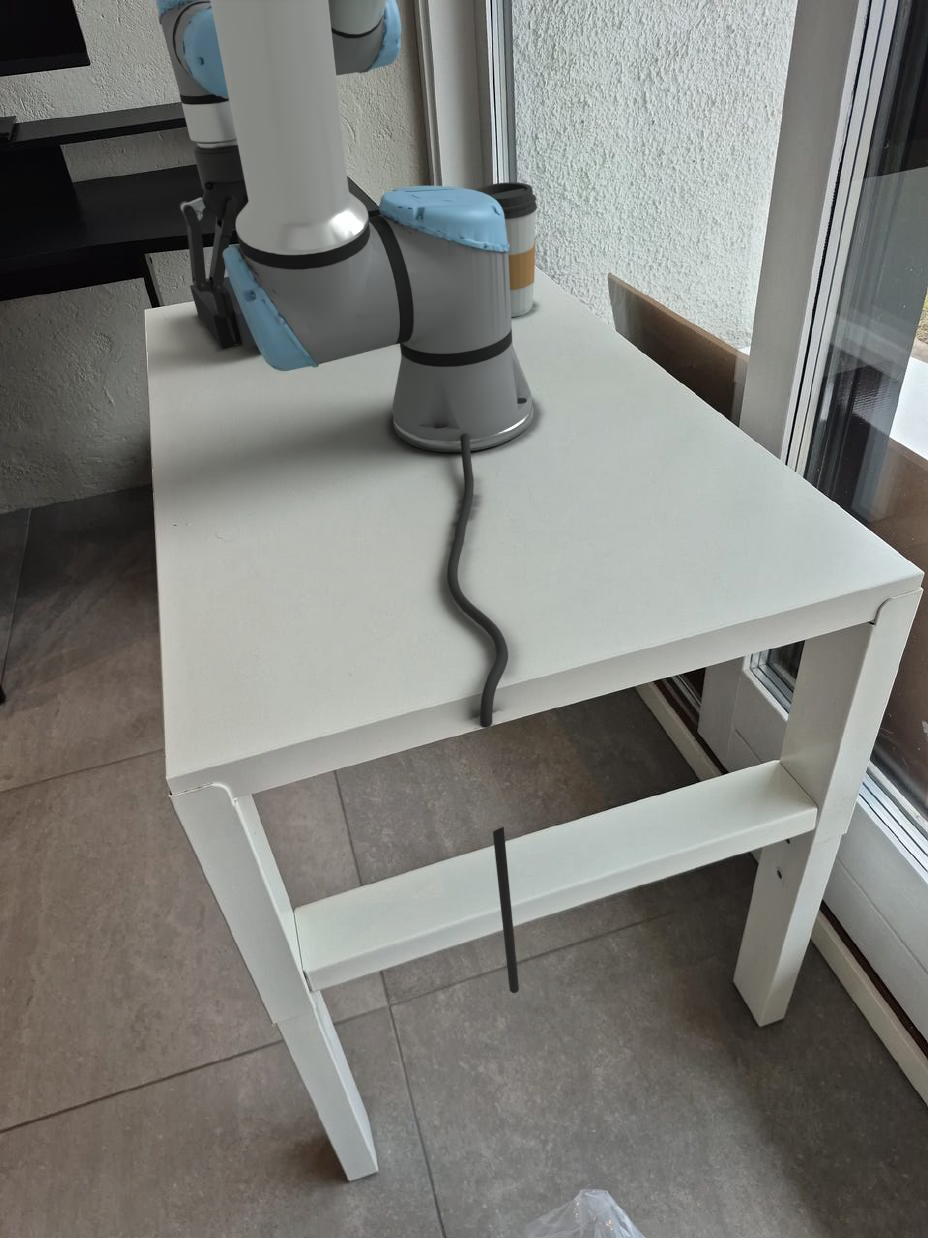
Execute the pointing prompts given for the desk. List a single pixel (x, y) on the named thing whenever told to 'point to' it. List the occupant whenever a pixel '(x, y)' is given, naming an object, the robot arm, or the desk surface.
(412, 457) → the desk surface
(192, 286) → the notched pad
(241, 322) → the pad
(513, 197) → the coffee cup
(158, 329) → the desk surface
